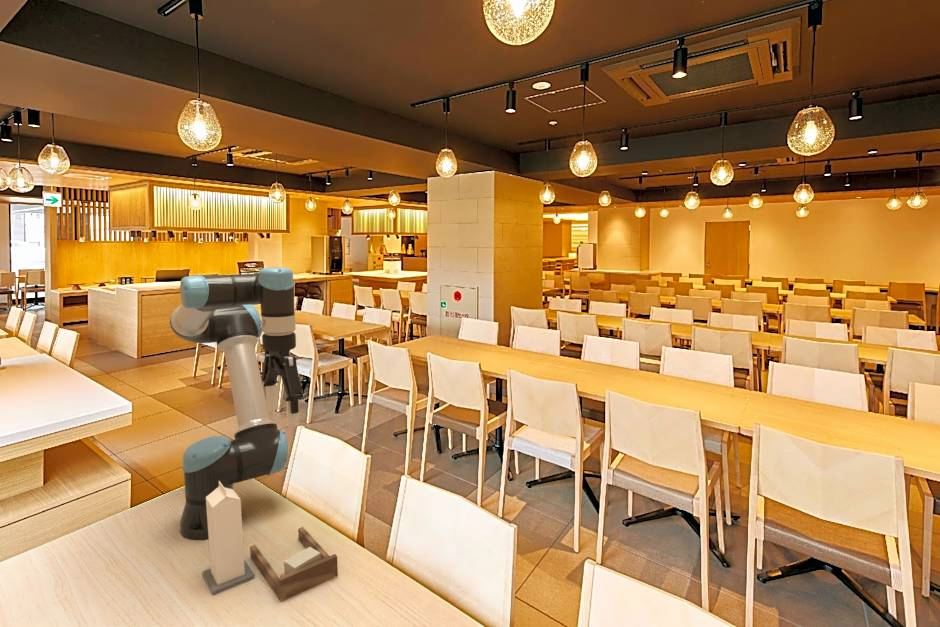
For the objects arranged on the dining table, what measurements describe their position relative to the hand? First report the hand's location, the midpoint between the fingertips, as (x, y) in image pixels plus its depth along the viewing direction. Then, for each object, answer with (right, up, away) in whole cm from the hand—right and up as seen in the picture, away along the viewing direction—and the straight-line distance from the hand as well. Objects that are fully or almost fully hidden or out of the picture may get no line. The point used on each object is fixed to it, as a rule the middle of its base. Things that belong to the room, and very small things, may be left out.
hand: (282, 417), depth 126 cm
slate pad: (-11, -36, -6) cm, 38 cm away
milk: (-11, -35, -6) cm, 37 cm away
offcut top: (+7, -34, -7) cm, 35 cm away
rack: (+3, -35, -2) cm, 36 cm away
